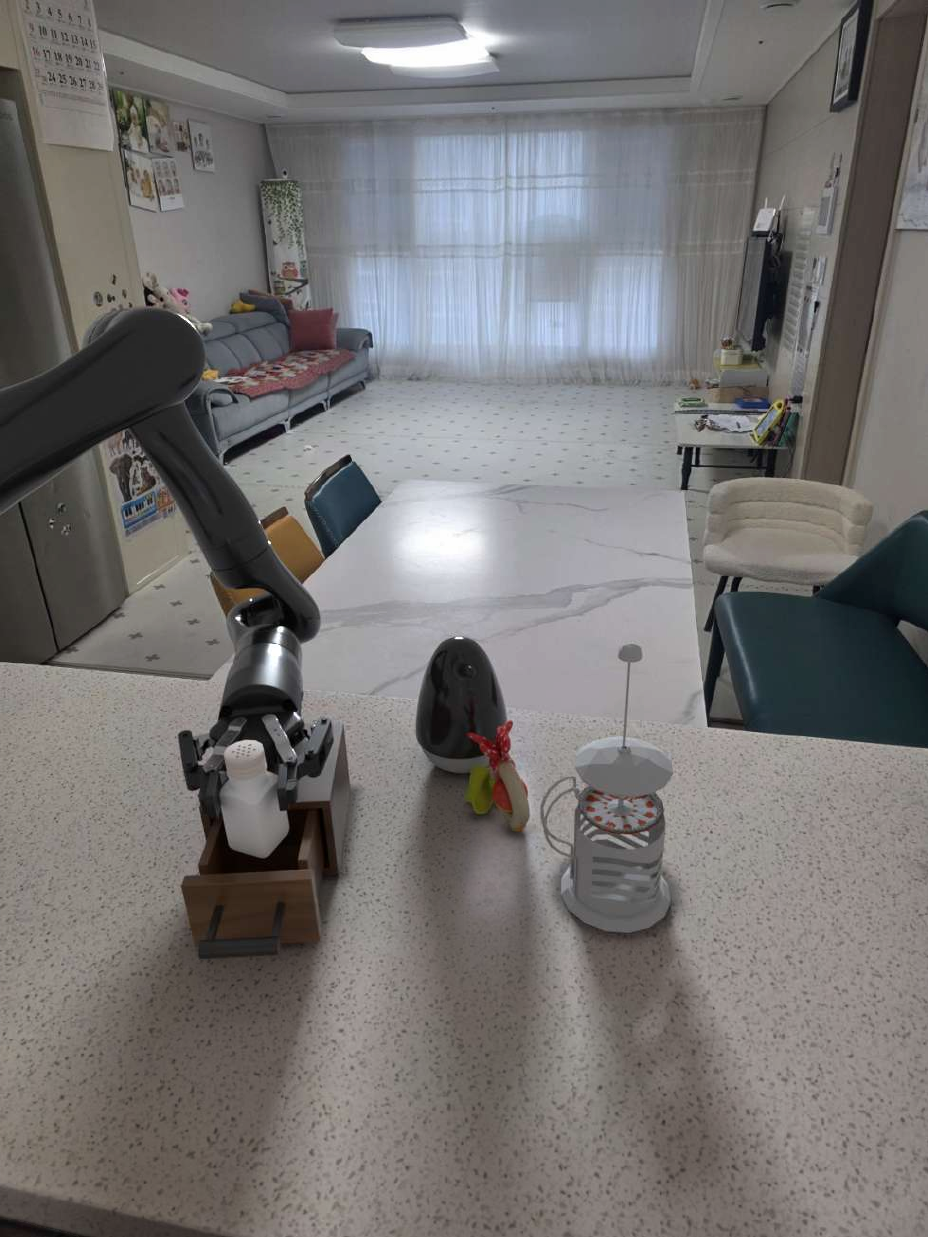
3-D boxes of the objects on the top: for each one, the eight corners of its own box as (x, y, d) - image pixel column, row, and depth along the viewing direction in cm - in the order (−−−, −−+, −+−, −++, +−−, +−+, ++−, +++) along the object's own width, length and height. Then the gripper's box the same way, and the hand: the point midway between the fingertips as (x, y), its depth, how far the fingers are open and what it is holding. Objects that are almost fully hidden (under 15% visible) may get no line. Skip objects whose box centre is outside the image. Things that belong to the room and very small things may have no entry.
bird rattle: (544, 835, 84) (504, 763, 89) (570, 777, 76) (525, 702, 81) (490, 855, 82) (452, 780, 87) (511, 798, 73) (468, 719, 79)
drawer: (313, 991, 64) (302, 927, 61) (178, 998, 64) (162, 934, 61) (334, 847, 79) (327, 789, 76) (225, 852, 79) (214, 795, 76)
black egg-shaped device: (427, 795, 87) (419, 669, 80) (410, 741, 96) (402, 624, 89) (520, 779, 89) (520, 655, 82) (494, 727, 98) (492, 612, 91)
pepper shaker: (254, 821, 73) (238, 732, 69) (293, 832, 72) (278, 742, 67) (226, 851, 70) (207, 759, 66) (266, 863, 68) (249, 770, 64)
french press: (685, 928, 70) (715, 671, 59) (549, 939, 69) (554, 681, 58) (653, 849, 79) (674, 612, 68) (532, 857, 78) (534, 620, 67)
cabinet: (339, 875, 77) (329, 801, 73) (214, 881, 76) (198, 807, 73) (350, 790, 88) (343, 723, 84) (242, 795, 88) (229, 728, 84)
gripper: (181, 669, 78) (145, 778, 63) (332, 655, 80) (333, 758, 65) (195, 735, 82) (163, 853, 67) (340, 720, 83) (342, 832, 68)
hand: (247, 805), depth 66 cm, fingers closed on pepper shaker, 5 cm apart
